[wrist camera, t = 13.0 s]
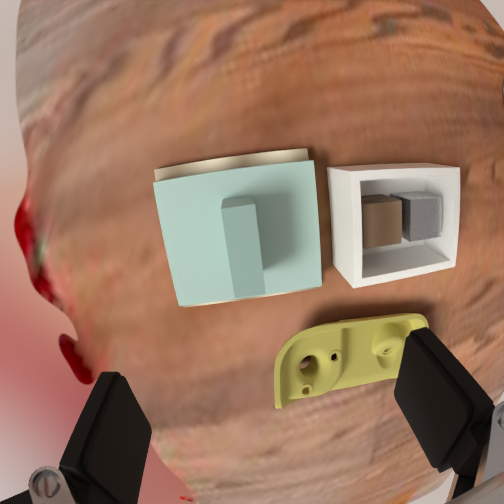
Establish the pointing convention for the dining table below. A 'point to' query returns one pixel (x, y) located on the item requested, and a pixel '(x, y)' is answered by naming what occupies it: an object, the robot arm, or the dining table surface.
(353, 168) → the tub
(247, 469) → the dining table surface
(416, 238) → the steel block
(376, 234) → the walnut block
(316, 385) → the plastic component
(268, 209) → the lid
